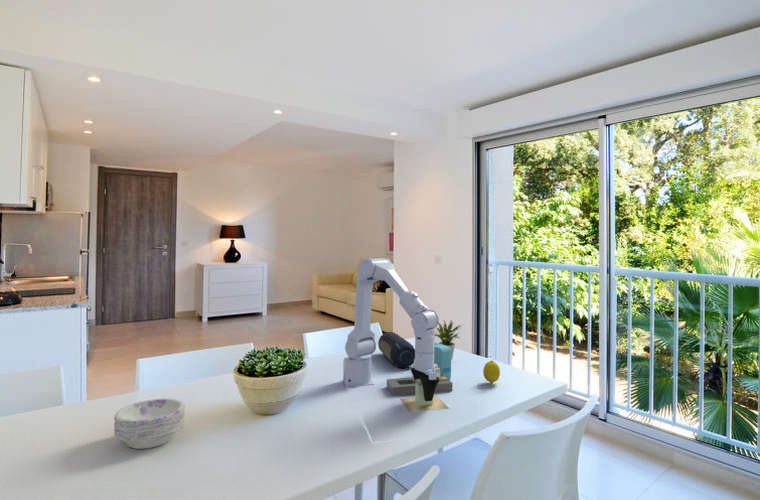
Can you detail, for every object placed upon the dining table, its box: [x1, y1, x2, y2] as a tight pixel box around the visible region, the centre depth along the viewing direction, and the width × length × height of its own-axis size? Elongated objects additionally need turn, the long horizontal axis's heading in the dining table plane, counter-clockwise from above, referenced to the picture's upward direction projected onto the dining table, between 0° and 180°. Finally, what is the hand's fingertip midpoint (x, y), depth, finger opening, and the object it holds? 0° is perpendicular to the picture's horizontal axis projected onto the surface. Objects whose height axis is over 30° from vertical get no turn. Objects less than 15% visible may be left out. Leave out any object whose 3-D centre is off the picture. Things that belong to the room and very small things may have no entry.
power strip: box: [386, 375, 453, 397], centre depth 142 cm, size 20×8×4 cm, turn 103°
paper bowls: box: [113, 398, 186, 450], centre depth 106 cm, size 15×15×8 cm
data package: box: [434, 341, 452, 381], centre depth 155 cm, size 12×4×12 cm, turn 36°
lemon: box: [482, 359, 501, 384], centre depth 149 cm, size 6×6×8 cm
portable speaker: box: [377, 331, 415, 368], centre depth 175 cm, size 25×10×10 cm, turn 16°
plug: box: [414, 379, 433, 406], centre depth 129 cm, size 4×3×7 cm, turn 103°
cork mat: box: [400, 395, 450, 413], centre depth 130 cm, size 12×10×1 cm
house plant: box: [434, 319, 464, 361], centre depth 177 cm, size 14×14×16 cm
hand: (424, 395), depth 129 cm, fingers open, 7 cm apart
